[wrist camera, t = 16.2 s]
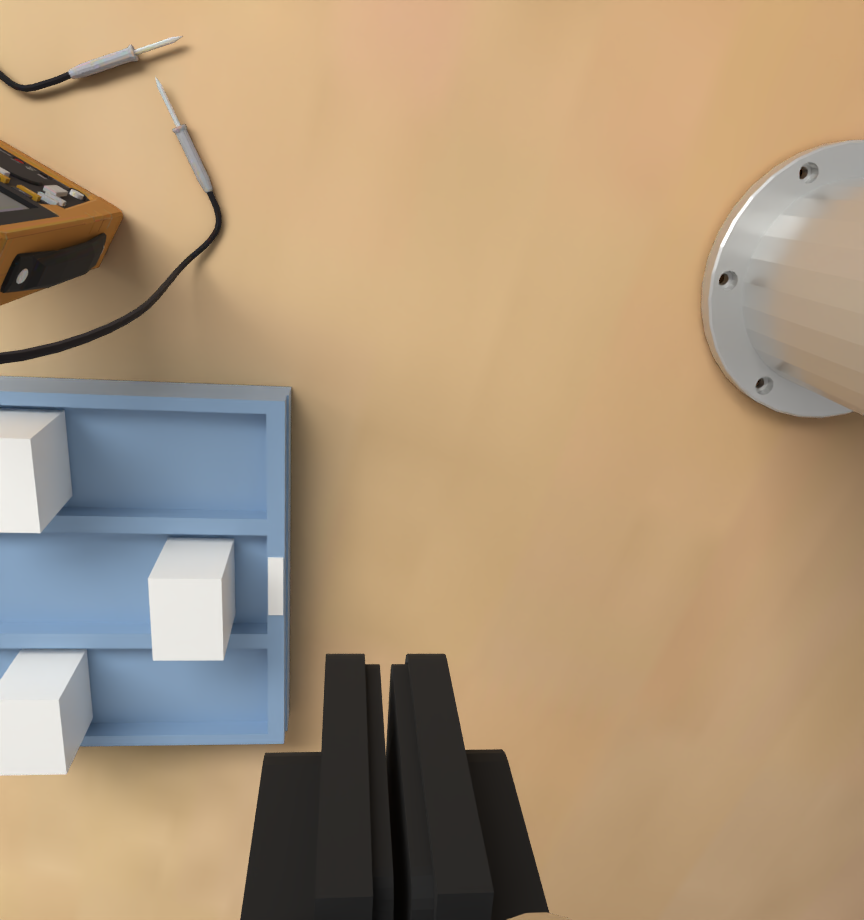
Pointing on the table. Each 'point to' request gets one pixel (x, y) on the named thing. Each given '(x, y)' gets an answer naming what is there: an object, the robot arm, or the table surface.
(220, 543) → the white rectangular block
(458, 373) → the table surface
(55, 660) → the white square block
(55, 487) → the white block
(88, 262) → the multimeter
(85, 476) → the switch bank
